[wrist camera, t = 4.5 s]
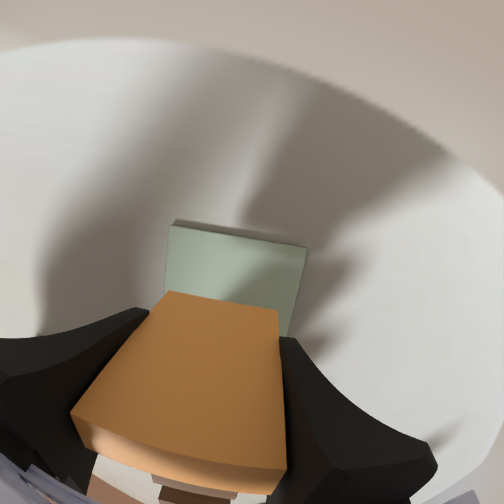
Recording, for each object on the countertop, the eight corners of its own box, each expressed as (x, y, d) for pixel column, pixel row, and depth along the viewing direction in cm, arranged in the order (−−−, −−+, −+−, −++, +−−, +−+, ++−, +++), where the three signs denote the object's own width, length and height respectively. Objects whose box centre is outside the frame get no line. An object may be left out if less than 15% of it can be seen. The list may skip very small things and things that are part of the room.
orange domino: (270, 339, 12) (270, 494, 5) (167, 319, 12) (85, 447, 5) (277, 310, 12) (286, 469, 4) (168, 290, 12) (69, 413, 4)
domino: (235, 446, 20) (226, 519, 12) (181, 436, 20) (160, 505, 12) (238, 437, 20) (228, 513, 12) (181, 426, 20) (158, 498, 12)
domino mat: (233, 499, 24) (232, 501, 24) (172, 487, 24) (172, 489, 24) (306, 248, 16) (307, 249, 15) (171, 224, 16) (169, 225, 15)
